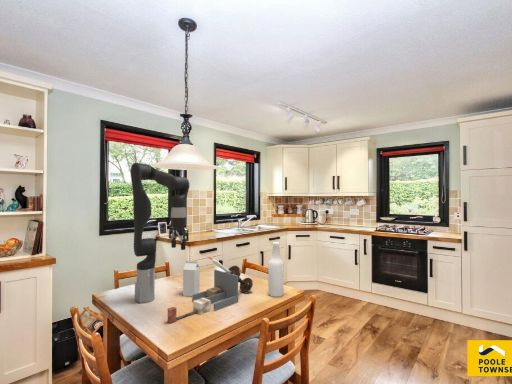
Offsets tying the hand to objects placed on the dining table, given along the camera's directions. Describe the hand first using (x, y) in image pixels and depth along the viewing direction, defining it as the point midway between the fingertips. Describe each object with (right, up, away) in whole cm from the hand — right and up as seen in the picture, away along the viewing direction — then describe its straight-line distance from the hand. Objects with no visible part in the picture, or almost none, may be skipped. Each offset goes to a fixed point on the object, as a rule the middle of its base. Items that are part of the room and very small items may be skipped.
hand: (178, 248), depth 140 cm
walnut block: (+16, -31, +15) cm, 37 cm away
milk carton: (+2, -31, +21) cm, 37 cm away
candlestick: (+34, -27, +26) cm, 50 cm away
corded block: (+7, -30, -8) cm, 32 cm away
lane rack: (+17, -30, +9) cm, 36 cm away
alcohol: (+51, -31, +21) cm, 63 cm away
